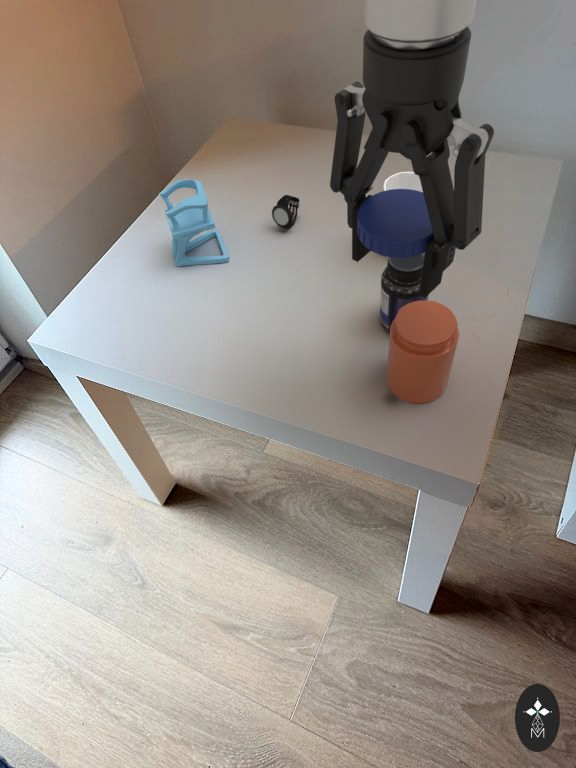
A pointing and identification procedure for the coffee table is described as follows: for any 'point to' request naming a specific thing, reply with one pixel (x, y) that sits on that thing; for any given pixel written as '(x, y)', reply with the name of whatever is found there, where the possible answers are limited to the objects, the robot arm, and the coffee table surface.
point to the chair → (191, 224)
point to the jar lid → (395, 223)
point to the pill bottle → (399, 286)
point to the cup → (403, 181)
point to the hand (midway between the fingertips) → (395, 270)
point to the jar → (421, 351)
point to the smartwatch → (285, 211)
